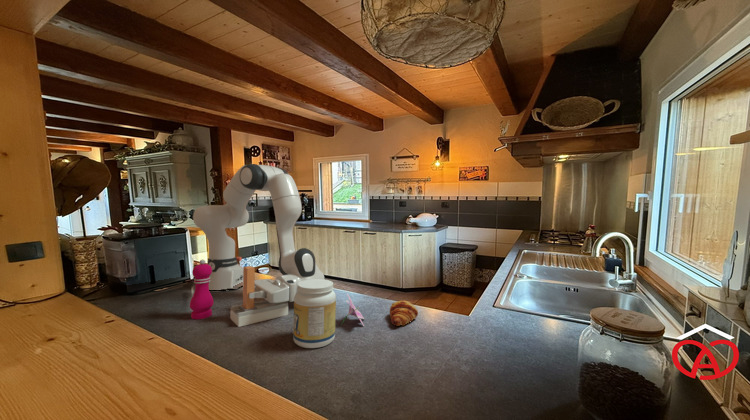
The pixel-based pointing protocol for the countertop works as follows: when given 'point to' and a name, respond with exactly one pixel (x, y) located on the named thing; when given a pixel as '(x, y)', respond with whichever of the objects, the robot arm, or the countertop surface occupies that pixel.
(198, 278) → the pepper mill
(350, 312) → the lily
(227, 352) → the countertop surface
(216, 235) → the robot arm
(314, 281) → the supplement tub
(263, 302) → the white base plate
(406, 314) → the croissant
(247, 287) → the lever
